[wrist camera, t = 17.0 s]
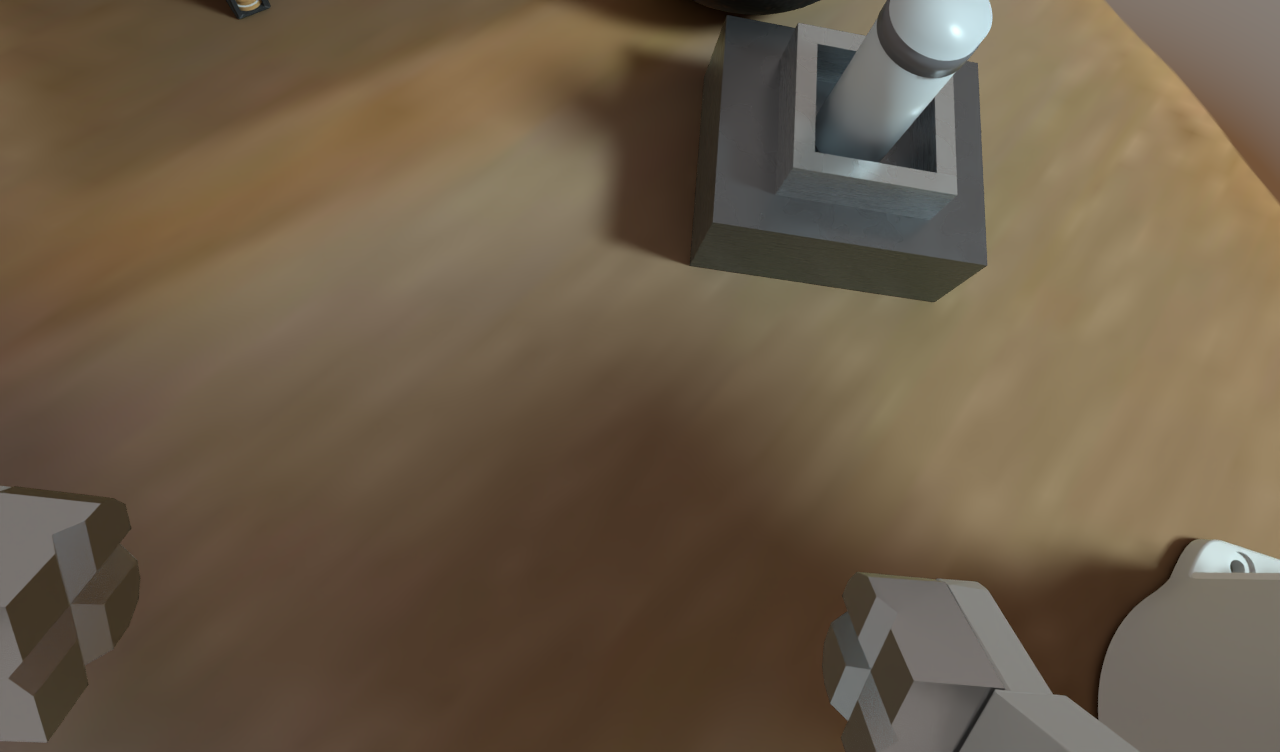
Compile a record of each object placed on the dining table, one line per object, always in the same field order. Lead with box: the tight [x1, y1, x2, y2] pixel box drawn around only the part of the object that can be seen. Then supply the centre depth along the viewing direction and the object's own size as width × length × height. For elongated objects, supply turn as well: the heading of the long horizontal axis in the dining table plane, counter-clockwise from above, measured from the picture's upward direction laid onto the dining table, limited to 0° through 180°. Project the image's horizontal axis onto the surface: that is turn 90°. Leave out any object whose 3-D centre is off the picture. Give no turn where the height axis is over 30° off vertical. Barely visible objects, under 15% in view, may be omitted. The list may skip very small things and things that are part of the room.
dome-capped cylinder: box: [815, 0, 992, 163], centre depth 34 cm, size 4×4×9 cm
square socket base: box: [690, 15, 987, 302], centre depth 40 cm, size 14×12×8 cm
